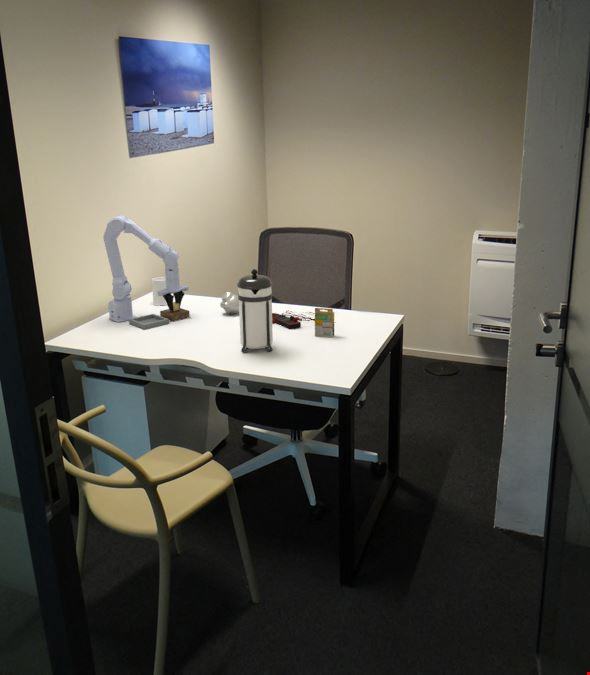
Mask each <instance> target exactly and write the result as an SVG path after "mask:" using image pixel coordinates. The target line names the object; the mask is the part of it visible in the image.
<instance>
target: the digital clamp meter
mask: <svg viewBox="0 0 590 675" xmlns="http://www.w3.org/2000/svg"><path fill="white" fill-rule="evenodd" d="M308 312H309V313H310V314H313V315H314V314H315V312H312V311H308ZM284 313H289V315H288V314H284ZM291 313H292V312H288V310H286V311H285V312H282V313H281V314H280V313H277V312H272V324H276V323H277V324H276V325H278V326H280V325H281V326H280V327H283V328H285V329H287V330H297V329H299V328H300V329H301V327H302V325H301V324H302V321H306V322H310V321H313V322H315V318H314V319H311V318H312V317H310V318H309V317H306V315H305V314H303V313H300V314H301V315H302V316H301V315H298V314H291ZM309 313H308V314H309ZM306 319H307V320H306Z"/></svg>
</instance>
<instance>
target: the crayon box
mask: <svg viewBox="0 0 590 675" xmlns="http://www.w3.org/2000/svg"><path fill="white" fill-rule="evenodd" d="M314 314H315V315H314V319H315V321H314V336H315V337H319V338H320V337H321V338H322V337H324V338H332V337H335V322H334V321H335V312H334V309H333V308H321V307H320V308H319V307H314Z"/></svg>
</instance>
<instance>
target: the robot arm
mask: <svg viewBox="0 0 590 675" xmlns="http://www.w3.org/2000/svg"><path fill="white" fill-rule="evenodd" d="M121 233H124V234H132V235H134V236H135V237H137V238H138V239H140V240H141V241H142V242H144V243H145V244H146V245H147V246H148V250H149V251H151V252H152V253H153V254H155V255H156V256H157V257H158V258H160V259H162V262H163V263H164V275H165V276H164V277H166V289H163V290H161V291H158V296H162V295H163V297H164V299H165V300H166V302H167V305H166V306H167V307H168V309H169V310H171V311H173V302H177V303H179V309H180V308H181V306H182V305H181V304H182V301H183V298H184V296H185V292H187V291H189V289H190V288H189V285H181V284H180V273H179V272H180V271H179V269H180V268H179V262H178V260H179V257H180V256H179V253H178V252H177V250H176V249H173V248H172V247H170V246H168V245H167V244H165V242H163V240H162V239H161V238H157V237H156V238H153V237H152V236H151V235H149V234H148V233H147V232H146V231H145V230H144V229H142V228H141V226H139V225H138V224H136V223H135V222H134V221H133V220H132V219H131V218H129V217H127V216H126V215H124V214H119V215H116V216H115V217H113V218H111V219H110V220H109V221H108V222H107V223H106V228H105V231H104V234H103V235H102V236H103V242H104V247H105V250H106V254H107V259H108V263H109V267H110V271H111V275H112V290H111V293H112V296H113V300H112V299H111V301H109V302H108V305H107V306H108V314H109V316H108V317H109V318H108V319H109V320H111V321H114V322H116V323H120V322H125V321H129V319H133V318H137V316H136V315H134V313H133V311H134V310H133V304H132V303H133V301H132V296H131V292H132V285H131V283H130V282H129V280H128V277H127V276H126V275H125V269H124V266H123V261H122V257H121V252H120V249H119V244H118V240H117V239H118V237H119V236H120V235H121ZM173 294H174V296H172V295H173Z"/></svg>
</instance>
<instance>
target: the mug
mask: <svg viewBox="0 0 590 675" xmlns="http://www.w3.org/2000/svg"><path fill="white" fill-rule="evenodd" d="M151 287H152V288H151V290H152V304H154V305H153V306H156V305H165V306H168V305H167V302H166V300H165V299H164V297H163V295H162V296H158V291H161V290H163V289H166V277H165V276H157V277H153V278H151ZM172 296H174V294H173V293H172Z"/></svg>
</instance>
